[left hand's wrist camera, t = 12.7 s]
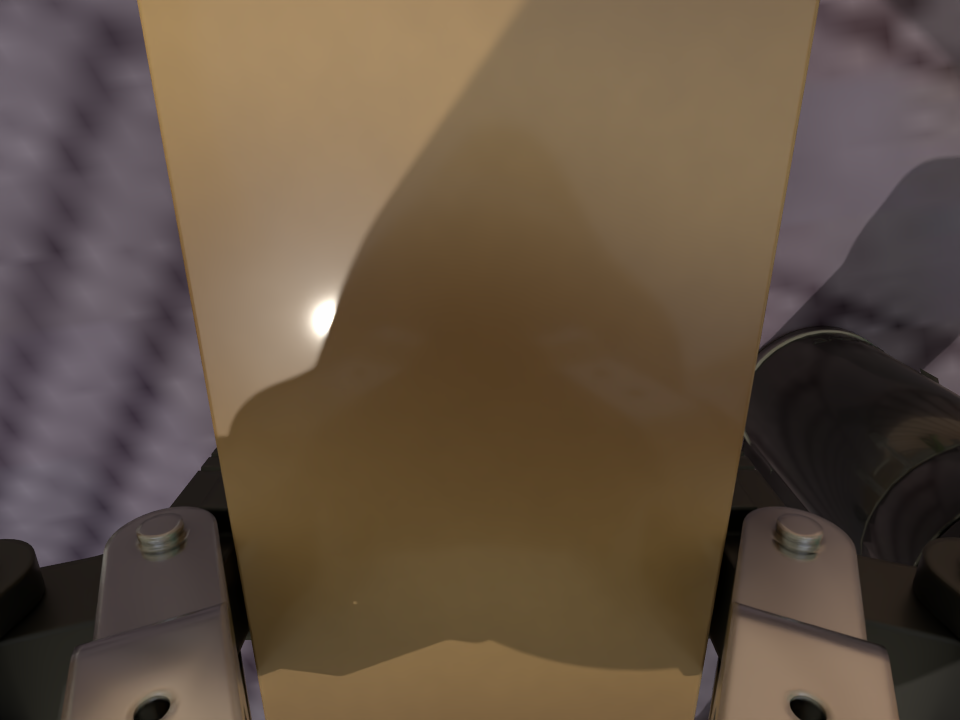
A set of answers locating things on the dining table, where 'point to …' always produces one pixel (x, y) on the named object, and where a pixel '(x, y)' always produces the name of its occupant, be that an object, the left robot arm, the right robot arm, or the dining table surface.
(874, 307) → the dining table surface
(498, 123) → the box
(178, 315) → the dining table surface
